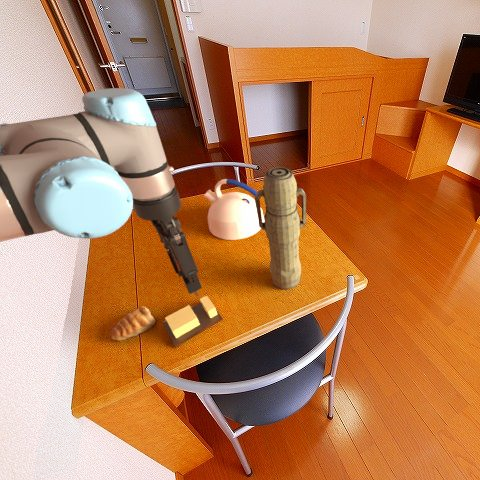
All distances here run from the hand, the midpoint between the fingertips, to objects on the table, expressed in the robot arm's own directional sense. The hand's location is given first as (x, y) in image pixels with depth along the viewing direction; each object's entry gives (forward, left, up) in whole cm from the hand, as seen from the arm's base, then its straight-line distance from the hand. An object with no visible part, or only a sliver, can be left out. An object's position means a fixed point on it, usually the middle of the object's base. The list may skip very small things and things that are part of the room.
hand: (188, 279), depth 62 cm
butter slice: (+2, 0, -14) cm, 14 cm away
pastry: (-14, +8, -15) cm, 22 cm away
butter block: (-5, 0, -14) cm, 15 cm away
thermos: (+24, -3, -15) cm, 29 cm away
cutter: (0, 0, -3) cm, 3 cm away
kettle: (+26, +31, -15) cm, 44 cm away
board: (-3, 0, -15) cm, 15 cm away
